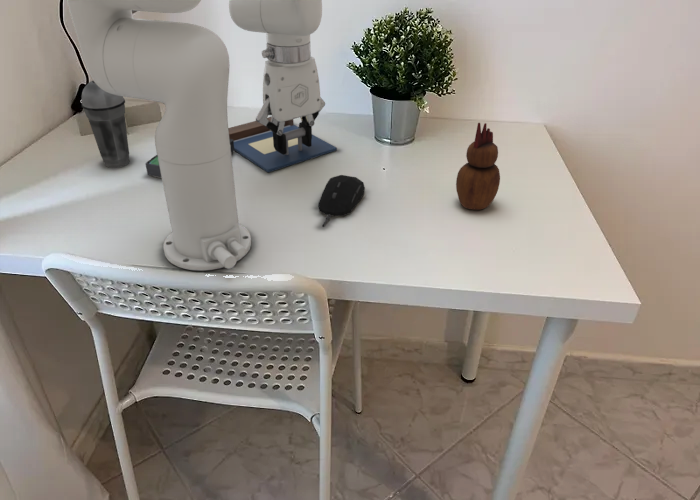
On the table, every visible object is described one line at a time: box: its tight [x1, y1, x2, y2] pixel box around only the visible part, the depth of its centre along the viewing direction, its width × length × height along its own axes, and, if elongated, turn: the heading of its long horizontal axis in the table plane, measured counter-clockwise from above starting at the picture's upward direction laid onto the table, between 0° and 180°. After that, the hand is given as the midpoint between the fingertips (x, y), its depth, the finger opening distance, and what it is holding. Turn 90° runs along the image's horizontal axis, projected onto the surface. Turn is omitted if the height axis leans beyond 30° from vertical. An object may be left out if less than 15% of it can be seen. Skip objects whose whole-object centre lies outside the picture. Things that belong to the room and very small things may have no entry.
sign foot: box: [228, 116, 295, 141], centre depth 121 cm, size 3×17×2 cm, turn 129°
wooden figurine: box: [455, 122, 501, 211], centre depth 93 cm, size 7×6×15 cm
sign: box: [234, 124, 338, 173], centre depth 114 cm, size 15×16×5 cm
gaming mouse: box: [317, 174, 366, 228], centre depth 96 cm, size 6×15×4 cm, turn 162°
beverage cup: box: [81, 80, 131, 169], centre depth 104 cm, size 7×7×20 cm
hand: (293, 147), depth 112 cm, fingers closed on sign, 5 cm apart
